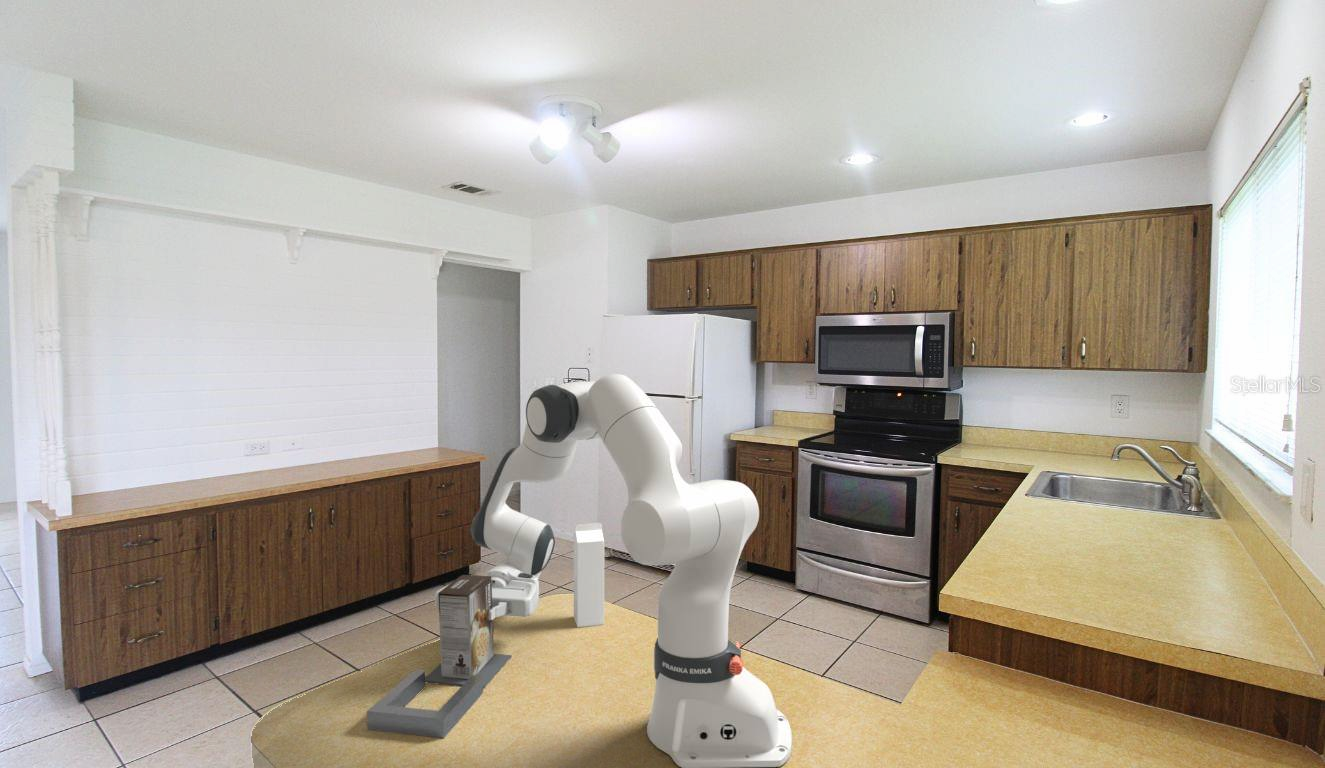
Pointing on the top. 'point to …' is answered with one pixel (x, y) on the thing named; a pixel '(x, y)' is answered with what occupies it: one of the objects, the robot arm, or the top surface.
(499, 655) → the rubber mat
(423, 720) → the u-shaped bracket
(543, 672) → the top surface
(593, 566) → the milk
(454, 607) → the coffee box
